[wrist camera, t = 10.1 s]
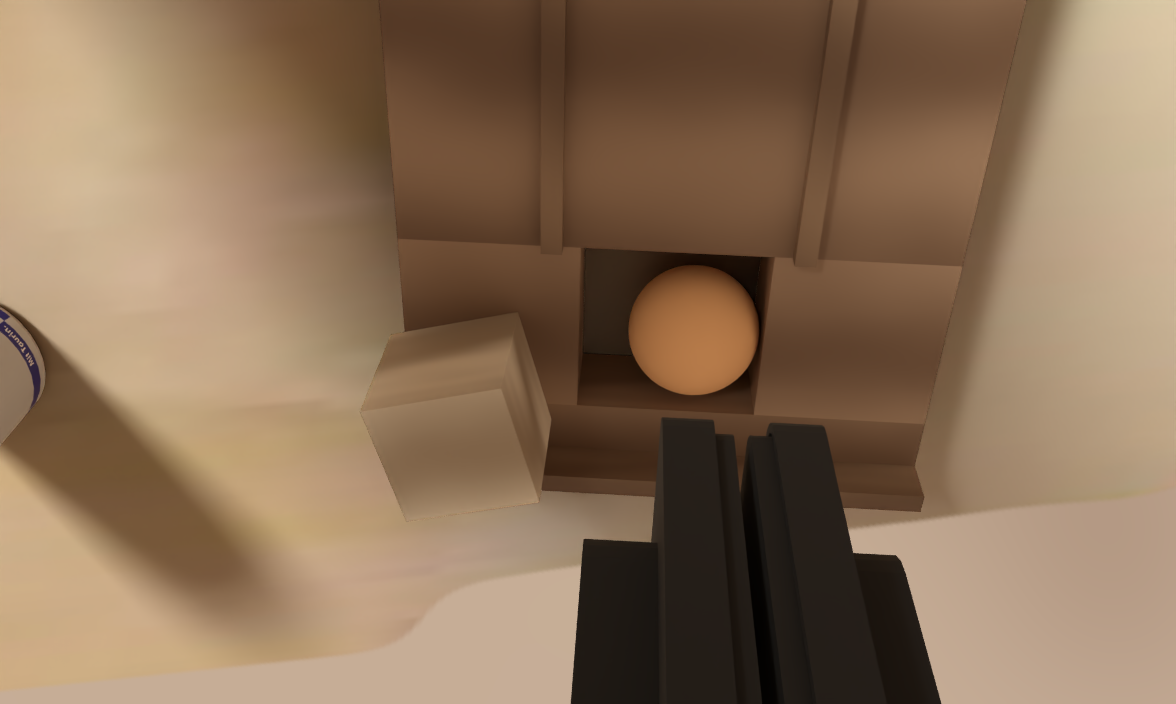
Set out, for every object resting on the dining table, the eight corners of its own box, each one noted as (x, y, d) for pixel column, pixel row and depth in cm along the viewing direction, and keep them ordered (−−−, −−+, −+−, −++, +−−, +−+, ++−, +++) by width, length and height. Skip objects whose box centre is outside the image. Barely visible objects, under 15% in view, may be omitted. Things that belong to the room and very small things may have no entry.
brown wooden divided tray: (388, -260, 27) (342, -246, 23) (1040, -237, 26) (1104, -220, 22) (430, 399, 38) (404, 482, 34) (894, 424, 37) (920, 511, 33)
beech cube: (390, 334, 33) (360, 411, 29) (518, 311, 32) (501, 388, 29) (431, 438, 35) (406, 521, 31) (551, 419, 34) (539, 502, 31)
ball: (644, 250, 35) (636, 258, 31) (767, 272, 35) (775, 282, 31) (623, 370, 36) (612, 392, 32) (743, 393, 35) (747, 418, 31)
